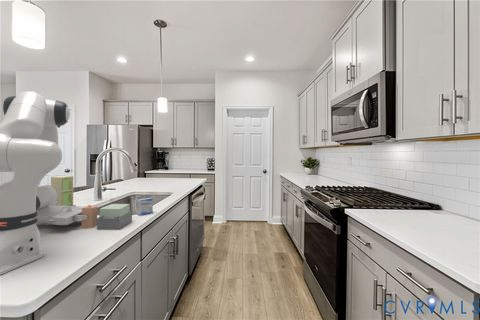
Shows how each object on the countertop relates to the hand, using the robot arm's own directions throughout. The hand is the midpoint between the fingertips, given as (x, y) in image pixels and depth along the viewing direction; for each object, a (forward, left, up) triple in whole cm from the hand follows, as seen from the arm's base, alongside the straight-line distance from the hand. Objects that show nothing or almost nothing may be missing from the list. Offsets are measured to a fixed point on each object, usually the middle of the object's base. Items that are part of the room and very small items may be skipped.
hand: (91, 215), depth 115 cm
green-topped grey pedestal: (+2, -10, -5) cm, 11 cm away
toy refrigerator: (+22, +28, -5) cm, 36 cm away
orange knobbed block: (0, +1, -5) cm, 5 cm away
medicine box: (+24, -16, -5) cm, 29 cm away
